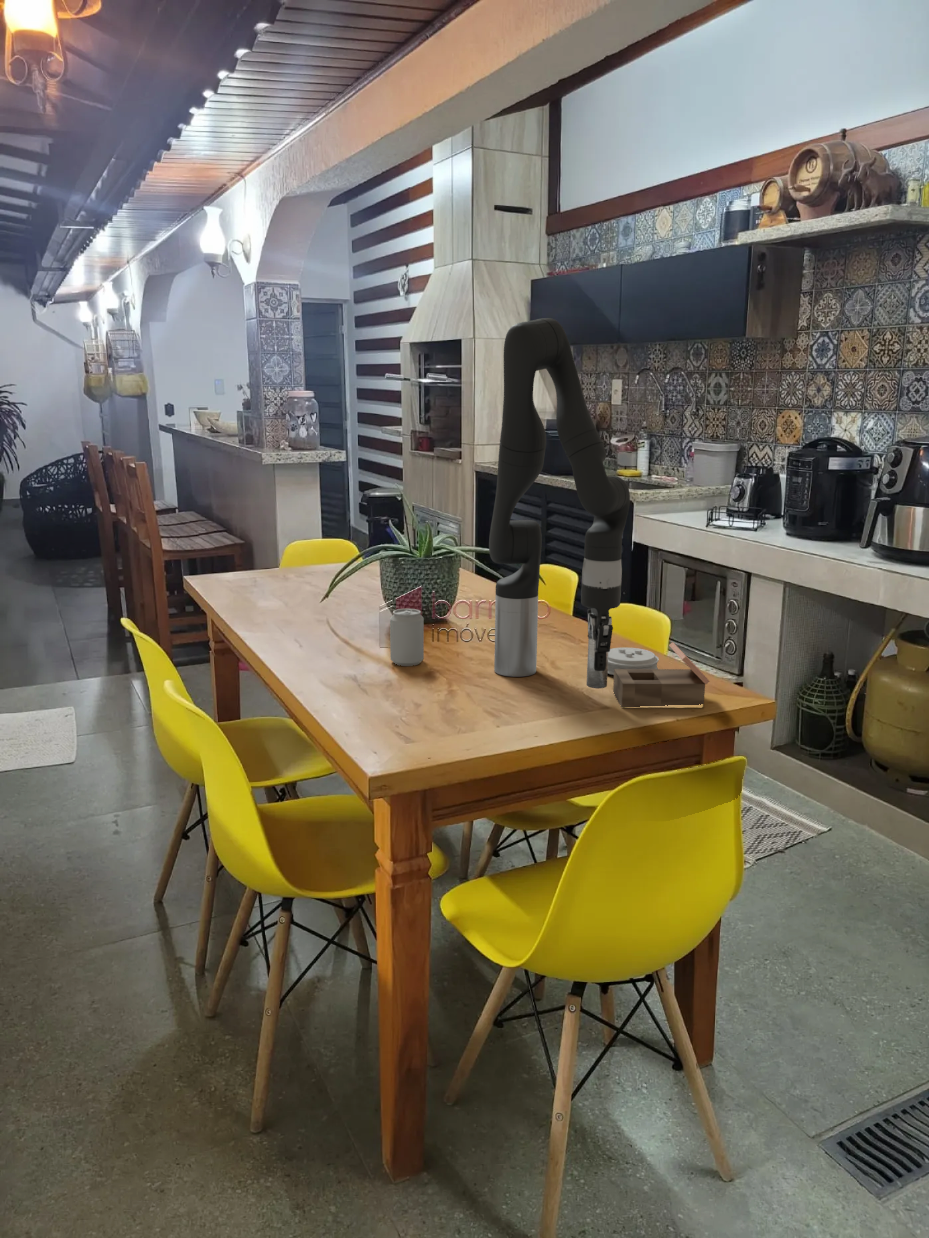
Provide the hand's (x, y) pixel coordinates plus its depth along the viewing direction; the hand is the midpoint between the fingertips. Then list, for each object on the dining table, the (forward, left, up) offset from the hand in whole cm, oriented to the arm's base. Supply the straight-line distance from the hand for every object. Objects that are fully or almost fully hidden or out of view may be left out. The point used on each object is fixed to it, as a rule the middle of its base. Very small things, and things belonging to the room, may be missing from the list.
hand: (597, 666), depth 189 cm
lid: (-21, +10, -8) cm, 25 cm away
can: (-28, -39, -8) cm, 48 cm away
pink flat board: (-1, +18, 0) cm, 18 cm away
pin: (0, 0, -4) cm, 4 cm away
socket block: (-1, +13, -7) cm, 15 cm away
